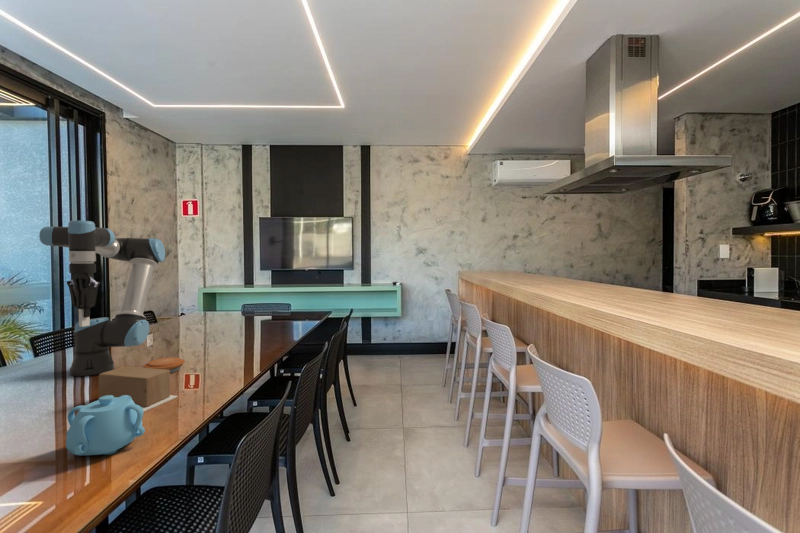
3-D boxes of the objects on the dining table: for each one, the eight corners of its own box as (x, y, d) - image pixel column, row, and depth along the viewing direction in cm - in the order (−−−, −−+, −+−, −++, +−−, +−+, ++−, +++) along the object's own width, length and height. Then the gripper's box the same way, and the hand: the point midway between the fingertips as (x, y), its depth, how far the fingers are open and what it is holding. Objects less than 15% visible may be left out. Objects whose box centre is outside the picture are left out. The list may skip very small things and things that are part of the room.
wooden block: (98, 402, 128) (146, 407, 124) (97, 373, 128) (146, 378, 124) (124, 392, 138) (170, 396, 134) (124, 365, 138) (170, 369, 134)
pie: (192, 367, 171) (192, 356, 171) (166, 377, 156) (166, 366, 156) (163, 365, 174) (163, 354, 174) (134, 375, 159) (134, 363, 159)
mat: (136, 391, 139) (136, 390, 139) (177, 397, 135) (177, 395, 135) (94, 407, 125) (94, 406, 125) (139, 413, 120) (139, 412, 120)
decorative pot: (147, 448, 99) (147, 398, 99) (66, 471, 88) (66, 414, 88) (138, 427, 111) (138, 382, 111) (66, 445, 100) (66, 395, 100)
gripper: (57, 262, 134) (59, 326, 135) (85, 263, 131) (87, 329, 132) (80, 261, 141) (81, 322, 142) (106, 262, 138) (108, 325, 139)
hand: (84, 325), depth 137 cm, fingers closed
